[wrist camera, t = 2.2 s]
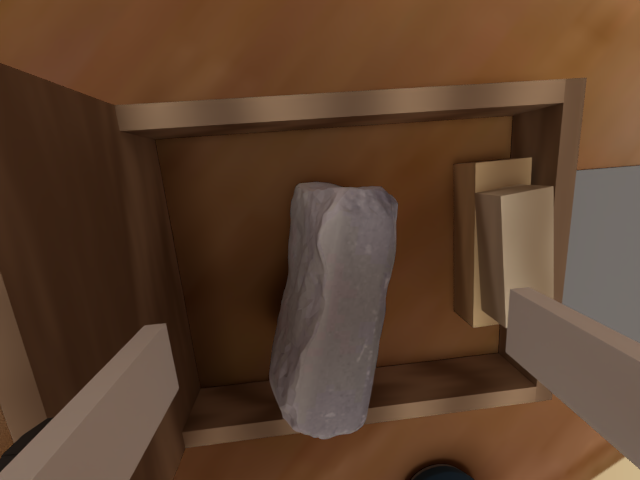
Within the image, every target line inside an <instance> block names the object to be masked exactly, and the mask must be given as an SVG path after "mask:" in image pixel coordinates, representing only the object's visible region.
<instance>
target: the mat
mask: <svg viewBox="0 0 640 480" xmlns="http://www.w3.org/2000/svg"><path fill="white" fill-rule="evenodd" d="M562 304H563V305H565V306H567V307H569V308H571V309H573V310H575V311H577V312H579V313H581V314H583V315H585V316H587V317H589V318H591V319H593V320H595V321H597V322H599V323H601V324H603V325H605V326H607V327H608V328H610V329H612V330H614V331H616V332H618V333H620V334H622V335H624V336H626V337H628V338H630V339H632V340H634V341H636V342H638V343H640V166H627V167H615V168H602V169H590V170H577V171H576V180H575V189H574V198H573V207H572V217H571V226H570V235H569V244H568V253H567V262H566V271H565V281H564V290H563V299H562Z"/></svg>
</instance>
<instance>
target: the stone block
mask: <svg viewBox="0 0 640 480" xmlns="http://www.w3.org/2000/svg"><path fill="white" fill-rule="evenodd" d="M397 209H398V203H397V201H396V199H395V198H394V197H393V196H392V195H389V194H388V193H387V192H386V191H385V190H384V189H383V188H382V187H377V186H370V187H359V188H355V187H341V186H337V185H335V184H330V183H324V182H309V183H299V184H298V185H297V186H296V187H295V191H294V195H293V198H292V200H291V209H290V217H291V225H290V235H289V244H288V264H289V273H288V278H287V283H286V287H285V290H284V293H283V299H282V301H281V310H280V313H279V315H278V319H277V328H276V332H275V337H274V341H273V346H272V354H271V363H270V371H269V380H270V385H271V388H272V391H273V393H274V396H275V398H276V401H277V403H278V405H279V408H280V410H281V413H282V416H283V418H284V419H285V420H286V421H287V422H288V424H289V425H290V427H292V429H293V430H294V431H296V432H301V433H303V434H305V435H310V436H312V437H314V438H316V437H319V438H320V439H328V438H331V437H334V436H336V435H341V434H350V433H352V432H355V431H357V430H358V429H360V428H361V427H362V426H363V424H364V422H365V421H366V418H367V412H368V407H369V402H370V397H371V391H372V385H373V379H374V373H375V368H376V362H377V357H378V348H379V340H380V336H381V332H382V327H383V322H384V316H385V311H386V300H385V299H386V293H387V288H388V283H389V281H390V278H391V274H392V269H393V265H394V260H395V253H396V219H397Z"/></svg>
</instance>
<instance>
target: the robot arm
mask: <svg viewBox="0 0 640 480" xmlns="http://www.w3.org/2000/svg"><path fill="white" fill-rule="evenodd" d="M506 353H507V354H508V355H510V356H511V357H512V358H513V359H514V360H515V361H516V362H518V363H519V364H520V365H521V366H522V367H523V368H524V369H526V370H527V371H528V372H529V373H530V374H531V375H532V376H534V377H535V378H536V379H537V380H538V381H539V382H540V383H542V384H543V385H544V386H545V387H546V388H547V389H548V390H550V391H551V392H552V393H553V394H554V395H555V396H557V397H558V398H559V399H560V400H561V401H562V402H563V403H565V404H566V405H567V406H568V407H569V408H570V409H571V410H573V411H574V412H575V413H576V414H577V415H578V416H579V417H581V418H582V419H583V420H584V421H585V422H586V423H587V424H589V425H590V426H591V427H592V428H593V429H594V430H595V431H597V432H598V433H599V434H600V435H601V436H602V437H603V438H605V439H606V440H607V441H608V442H609V443H610V444H611V445H613V446H614V447H615V448H616V449H617V450H618V451H619V452H621V453H622V454H623V455H624V456H625V457H626V458H627V459H629V460H630V461H631V462H632V463H633V464H634V465H636V466H637V467H638V468H639V469H640V343H638V342H636V341H634V340H632V339H630V338H628V337H626V336H624V335H622V334H620V333H618V332H616V331H614V330H612V329H610V328H608V327H607V326H605V325H603V324H601V323H599V322H597V321H595V320H593V319H591V318H589V317H587V316H585V315H583V314H581V313H579V312H577V311H575V310H573V309H571V308H569V307H567V306H565V305H563V304H561V303H559V302H557V301H555V300H553V299H551V298H549V297H547V296H545V295H543V294H541V293H539V292H537V291H535V290H533V289H531V288H529V287H525V288H515V289H510V296H509V310H508V324H507V338H506ZM178 389H179V385H178V380H177V375H176V370H175V366H174V361H173V356H172V351H171V346H170V341H169V336H168V331H167V326H166V323H163V324H153V325H144V326H143V327H142V328H141V329H140V330H139V331H138V332H137V333H136V335H135V336H134V337H133V338H132V339H131V340H130V341H129V342H128V343H127V344H126V345H125V346H124V347H123V348H122V349H121V350H120V351H119V352H118V353H117V354H116V355H115V356H114V357H113V358H112V359H111V360H110V361H109V362H108V363H107V364H106V365H105V366H104V367H103V368H102V369H101V370H100V371H99V372H98V373H97V374H96V375H95V376H94V377H93V378H92V379H91V380H90V381H89V382H88V383H87V384H86V385H85V387H84V388H83V389H82V390H81V391H80V392H79V393H78V394H77V395H76V396H75V397H74V398H73V399H72V400H71V401H70V402H69V403H68V404H67V405H66V406H65V407H64V408H63V409H62V410H61V411H60V412H59V413H58V414H57V415H56V416H55V417H53V418H47V419H45V420H44V421H43V422H41V423H40V424H38V425H37V426H35V427H34V428H32V429H31V430H29V431H28V432H27V433H25V434H24V435H22V436H21V437H20V438H19V439H18V440H17V441H16V442H15V443H14V444H13V445H12V446H11V447H10V448H9V449H8V450H7V451H6V452H5V453H4V454H3V455H2V457H1V459H0V480H130V478H131V476H132V474H133V473H134V471H135V469H136V467H137V465H138V463H139V461H140V460H141V458H142V456H143V454H144V452H145V450H146V448H147V447H148V445H149V443H150V441H151V439H152V437H153V436H154V434H155V432H156V430H157V428H158V426H159V424H160V423H161V421H162V419H163V417H164V415H165V413H166V411H167V410H168V408H169V406H170V404H171V402H172V400H173V398H174V397H175V395H176V393H177V391H178Z"/></svg>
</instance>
